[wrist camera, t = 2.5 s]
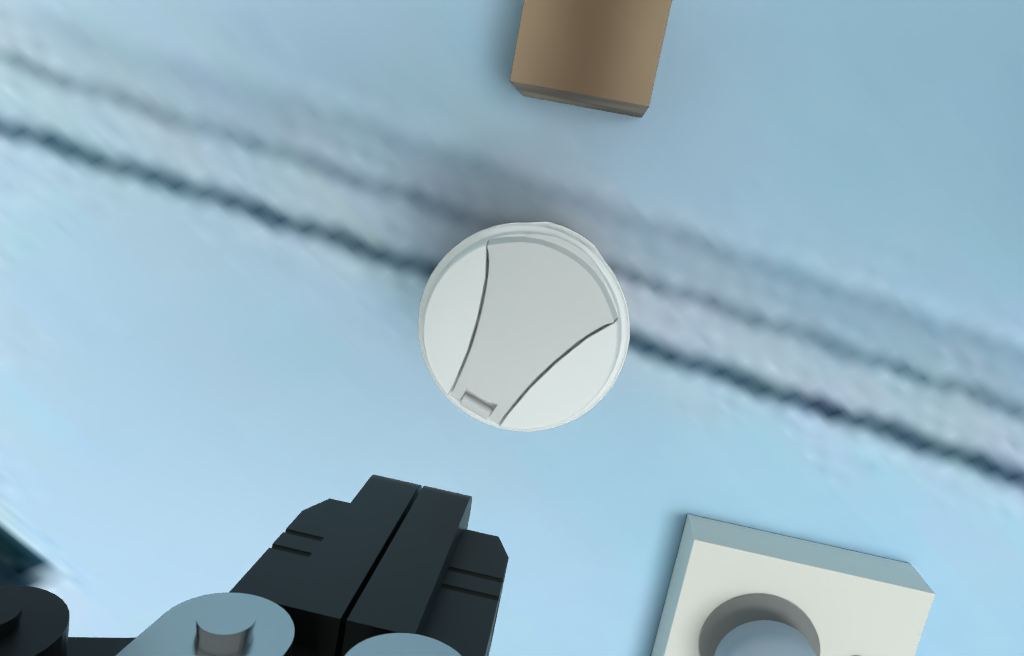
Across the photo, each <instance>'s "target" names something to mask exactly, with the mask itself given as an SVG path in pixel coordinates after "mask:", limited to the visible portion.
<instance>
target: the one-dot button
mask: <svg viewBox="0 0 1024 656" xmlns="http://www.w3.org/2000/svg"><path fill="white" fill-rule="evenodd" d="M714 656H816V653H815V651H814V649H813V647H812V645H811V644H810V642H809V641H808V640H807V638H806V637H805V636H804V635H803V634H802V633H800V632H799V631H798V630H796V629H795V628H793V627H791V626H789V625H787V624H784V623H781V622H777V621H771V620H758V621H752V622H748V623H745V624H742V625H740V626H738V627H736V628H735V629H733V630H731V631H730V632H729V633H728V634H727V635H726V636H725V637H724V638H723V639H722V640H721V642H720V643H719V645H718V647H717V649H716V652H715V655H714Z"/></svg>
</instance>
